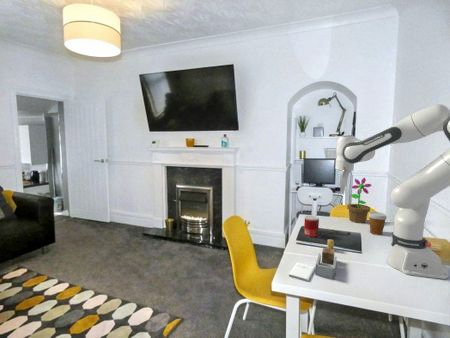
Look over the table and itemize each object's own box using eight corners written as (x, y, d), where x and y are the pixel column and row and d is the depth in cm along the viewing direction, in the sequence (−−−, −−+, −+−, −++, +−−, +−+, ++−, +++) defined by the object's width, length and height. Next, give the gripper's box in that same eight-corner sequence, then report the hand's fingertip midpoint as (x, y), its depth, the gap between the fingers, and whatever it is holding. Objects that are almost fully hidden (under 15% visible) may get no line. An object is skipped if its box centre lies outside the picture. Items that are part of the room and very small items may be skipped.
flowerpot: (371, 220, 182) (374, 178, 178) (366, 226, 171) (369, 180, 167) (349, 216, 191) (352, 175, 187) (343, 221, 181) (346, 178, 176)
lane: (336, 266, 119) (336, 256, 119) (334, 279, 109) (334, 269, 108) (318, 262, 123) (319, 253, 122) (315, 274, 112) (315, 264, 112)
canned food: (319, 238, 151) (319, 219, 150) (304, 237, 153) (305, 218, 151) (317, 233, 159) (318, 215, 157) (303, 232, 160) (304, 214, 159)
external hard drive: (288, 277, 111) (296, 264, 122) (308, 283, 107) (315, 269, 118) (288, 274, 111) (296, 261, 121) (308, 279, 107) (315, 266, 117)
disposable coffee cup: (368, 234, 156) (369, 215, 155) (366, 229, 165) (367, 210, 164) (386, 237, 153) (388, 217, 151) (383, 231, 162) (385, 212, 160)
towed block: (335, 249, 136) (336, 240, 136) (333, 264, 121) (333, 254, 120) (325, 247, 138) (325, 238, 138) (321, 261, 123) (322, 251, 122)
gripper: (350, 168, 129) (349, 196, 130) (351, 164, 147) (349, 188, 149) (336, 168, 131) (335, 195, 133) (338, 163, 149) (337, 187, 151)
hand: (342, 191), depth 141 cm, fingers open, 8 cm apart
